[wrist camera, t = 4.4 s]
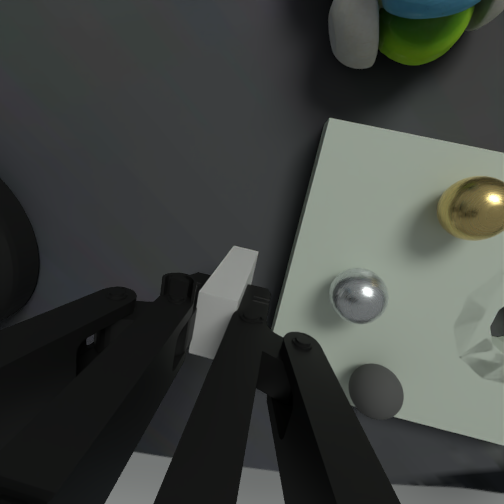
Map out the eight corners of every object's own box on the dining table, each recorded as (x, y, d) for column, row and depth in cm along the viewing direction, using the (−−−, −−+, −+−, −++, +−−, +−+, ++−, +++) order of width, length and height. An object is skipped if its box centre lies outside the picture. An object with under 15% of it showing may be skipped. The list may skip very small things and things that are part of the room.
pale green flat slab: (263, 359, 23) (260, 381, 21) (324, 124, 18) (329, 117, 15) (514, 424, 22) (541, 455, 20) (663, 193, 17) (726, 198, 14)
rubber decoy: (338, 385, 20) (347, 424, 17) (352, 348, 19) (364, 382, 16) (383, 397, 20) (400, 438, 17) (400, 359, 19) (421, 397, 16)
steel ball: (319, 300, 18) (326, 327, 15) (334, 255, 17) (343, 273, 14) (368, 312, 18) (385, 342, 15) (386, 267, 17) (407, 288, 14)
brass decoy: (416, 225, 16) (445, 239, 13) (439, 169, 15) (475, 169, 12) (473, 238, 16) (515, 255, 13) (499, 181, 15) (552, 185, 12)
